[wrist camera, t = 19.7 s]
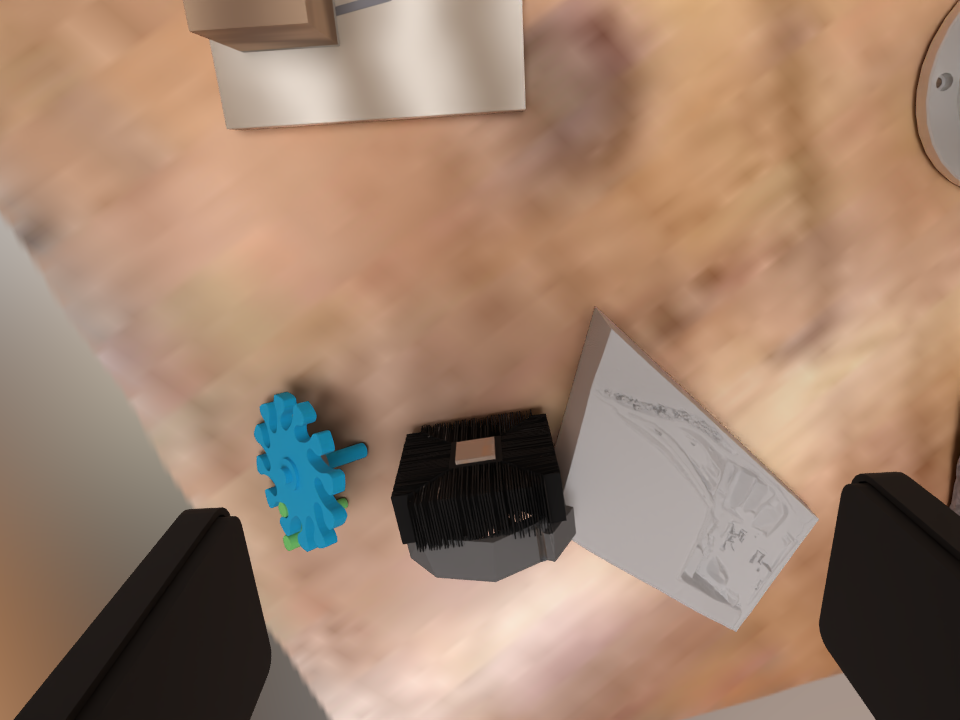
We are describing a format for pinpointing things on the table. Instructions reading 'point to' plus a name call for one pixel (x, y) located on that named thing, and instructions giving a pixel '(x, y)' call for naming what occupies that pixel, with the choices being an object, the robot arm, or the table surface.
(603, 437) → the ramp
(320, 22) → the block
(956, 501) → the decorative rock
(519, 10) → the board
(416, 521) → the cpu cooler
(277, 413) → the gear
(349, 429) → the table surface
